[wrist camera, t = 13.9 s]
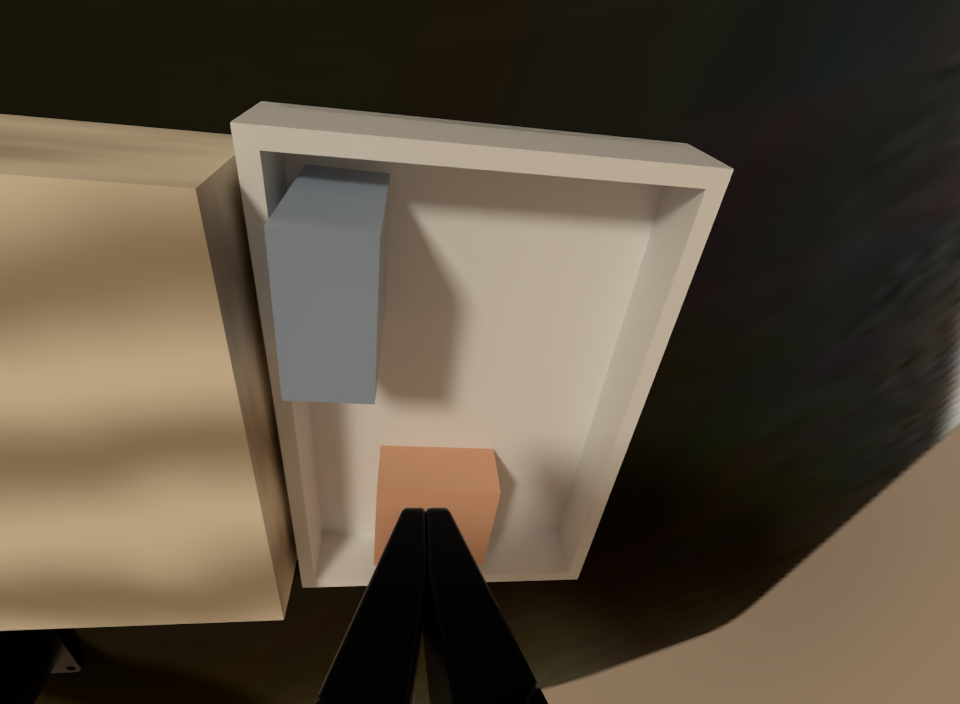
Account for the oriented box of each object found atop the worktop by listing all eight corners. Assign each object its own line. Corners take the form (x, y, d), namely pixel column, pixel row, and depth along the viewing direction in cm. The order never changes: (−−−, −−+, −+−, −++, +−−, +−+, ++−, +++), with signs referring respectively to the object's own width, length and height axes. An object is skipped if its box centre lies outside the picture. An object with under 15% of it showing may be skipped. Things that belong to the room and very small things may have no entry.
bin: (563, 527, 28) (577, 579, 25) (313, 531, 26) (302, 587, 23) (687, 143, 17) (733, 169, 14) (261, 101, 15) (229, 122, 12)
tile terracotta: (373, 564, 23) (377, 518, 25) (483, 564, 24) (478, 519, 26) (376, 490, 20) (380, 445, 22) (500, 492, 21) (493, 449, 23)
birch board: (305, 519, 25) (283, 619, 21) (37, 522, 24) (-43, 632, 20) (255, 136, 15) (195, 188, 11) (-220, 94, 14) (-497, 136, 9)
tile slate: (313, 309, 18) (384, 313, 18) (281, 400, 14) (374, 404, 14) (305, 164, 15) (390, 173, 16) (263, 225, 11) (380, 236, 12)
